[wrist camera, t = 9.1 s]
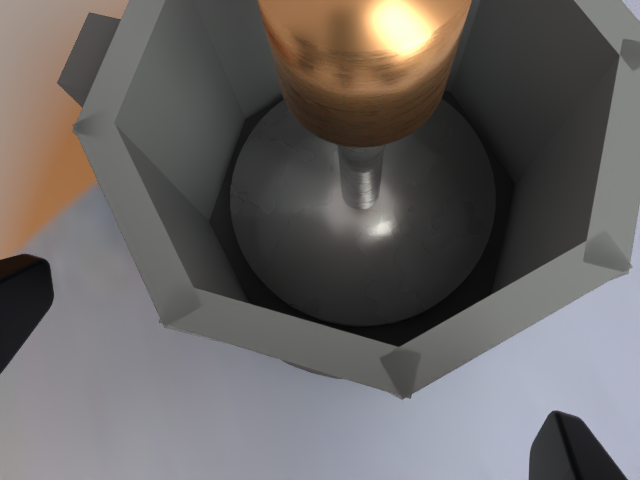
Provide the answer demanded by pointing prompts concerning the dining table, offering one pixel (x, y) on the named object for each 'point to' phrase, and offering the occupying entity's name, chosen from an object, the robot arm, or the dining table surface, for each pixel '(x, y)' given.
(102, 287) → the dining table surface
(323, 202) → the plunger
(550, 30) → the press jug
